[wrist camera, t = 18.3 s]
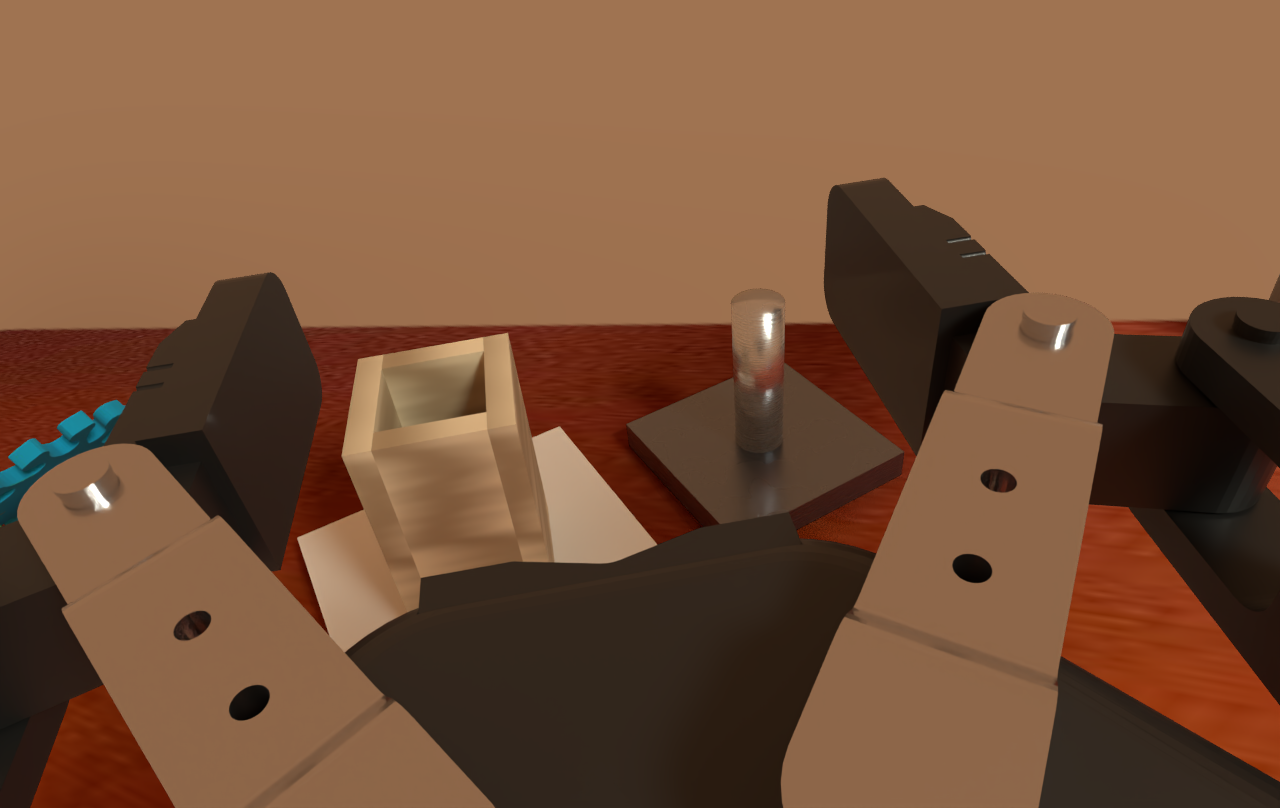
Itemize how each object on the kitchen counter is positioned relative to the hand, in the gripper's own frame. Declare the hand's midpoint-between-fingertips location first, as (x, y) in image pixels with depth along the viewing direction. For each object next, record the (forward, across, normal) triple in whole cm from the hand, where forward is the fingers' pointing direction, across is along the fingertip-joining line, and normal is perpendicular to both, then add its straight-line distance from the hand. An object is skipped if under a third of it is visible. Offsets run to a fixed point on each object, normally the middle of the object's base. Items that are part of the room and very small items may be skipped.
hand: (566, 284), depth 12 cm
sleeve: (+15, +6, +22) cm, 27 cm away
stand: (+20, -8, +24) cm, 32 cm away
